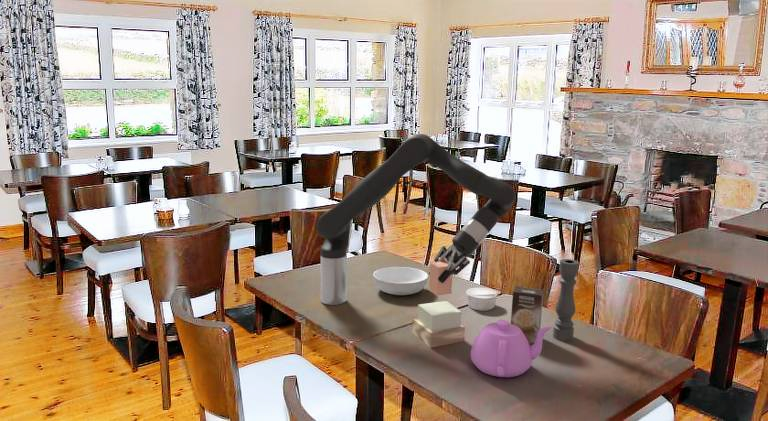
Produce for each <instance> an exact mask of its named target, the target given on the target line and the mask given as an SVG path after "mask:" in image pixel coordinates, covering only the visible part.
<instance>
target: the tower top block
mask: <svg viewBox="0 0 768 421" xmlns="http://www.w3.org/2000/svg"><path fill="white" fill-rule="evenodd" d="M417 318H418V320H419V321H420V322H421V323H422V324H424V325H425V326H426V327H427V328H428V329H429V330H431V331H437V330H444V329H450V328H457V327H461V325H462V311H461V310H460V309H459V308H456V307H455V306H454V305H453V304H451V303H450V302H448V301H447V300H445V301H444V300H443V301H435V302H429V303H428V302H427V303H421V304H420V303H419V304H417Z"/></svg>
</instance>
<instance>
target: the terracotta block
mask: <svg viewBox="0 0 768 421" xmlns="http://www.w3.org/2000/svg"><path fill="white" fill-rule="evenodd" d="M447 266H448V263H447V262H443V261H442V262H435V261H433V262H430V264H429V272H430V275H429V284H428V285H429V289H428V290H429V292H431V293H432V294H434V295H436V296H437V297H439V296H444V295H450V294H451V295H452V293H453V292H452V286H453V285H452V284H453V274H452V275H450V276H449V277H448V278H447V279H446V281H445V282H444V283H441V282H440V281H439V280H438V278H439V276H440V275H441V274H442V273H443V272H444V270H446V268H447ZM451 267H452V266H451Z"/></svg>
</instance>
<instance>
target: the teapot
mask: <svg viewBox="0 0 768 421" xmlns="http://www.w3.org/2000/svg"><path fill="white" fill-rule="evenodd" d="M552 328H553V326H551V327H550V326H548V327H547V326H546V327H542V328H540V330H539V331H538V333H537V337H536V342H535V343H532V345H530V343H528V341H527V339H526V337H525V335H524V334H523V332H522V331H521V329H520V328H519V327H517V326H515V325H513V324H511V322H510V321H508V320H506V319H499V320H497V321H496V322H491V323H488V324H486V325H484V327H483V328H482V329H481V331H479V333H478V334H477V336H476V337H475V339H474V341H473V343H472V346H471V350H470V359H471V362H472V363H473V364H474V365H475V367H477V369H478V370H479V371H481V372H482V373H483V374H487V375H489V376H493V377H498V378H515V377H518V376H521V375H523V374H524V373H526V372H527V371H528V369H530V368H531V365H532V364H533V361H534V360H536V359H537V358H538V357H539V356H540V354H541V353H542V349H543V342H544V336H545V335H546V334H547V332H549V331H550V330H552Z"/></svg>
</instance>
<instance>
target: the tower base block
mask: <svg viewBox="0 0 768 421" xmlns="http://www.w3.org/2000/svg"><path fill="white" fill-rule="evenodd" d="M411 325H412V329H411V332H412V334H413V335H414V336H416V338H418V339H419V340H421V341H422V342H423V343H424V344H425V345H427V346H428V347H429V348H436V347H441V346H446V345H451V344H452V345H453V344H457V343H462V342H465V333H466V332H465V331H466V330H465V329H466V327H465V325H463V324H461V327H457V328H450V329H444V330H437V331H431V330H429V329H428V328H427V327H426V326H425V325H424V324H422V323H421V322H420V321H419V320H418V317H416V318H413V319H412V324H411Z"/></svg>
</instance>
